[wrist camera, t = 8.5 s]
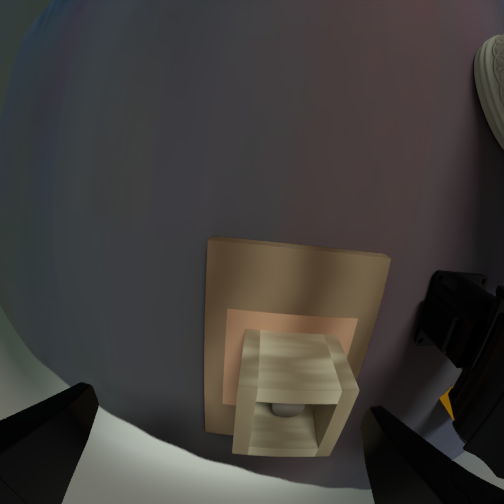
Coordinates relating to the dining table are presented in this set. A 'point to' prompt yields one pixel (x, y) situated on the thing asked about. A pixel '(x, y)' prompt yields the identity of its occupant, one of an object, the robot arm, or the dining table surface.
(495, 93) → the jar
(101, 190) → the dining table surface
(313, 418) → the collar
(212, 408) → the post board
